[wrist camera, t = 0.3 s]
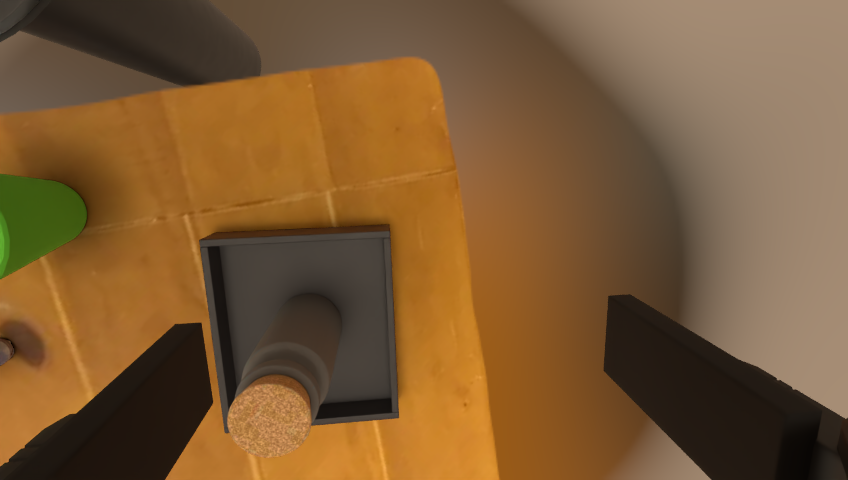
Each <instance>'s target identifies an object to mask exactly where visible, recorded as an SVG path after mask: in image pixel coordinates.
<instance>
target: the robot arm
mask: <svg viewBox="0 0 848 480" xmlns="http://www.w3.org/2000/svg"><path fill="white" fill-rule="evenodd" d="M604 371H605V372H606V373H607V375H608V376H609V377H610V378H611V379H613V381H614V382H616V384H617V385H619V387H620V388H621V389H622V390H623V391H624V392H625V393H626V394H627V395H628V396H629V397H630V398H631V399H632V400H633V401H634V402H635V403H636V404H637V405H638V406H639V407H640V408H641V409H642V410H643V411H644V412H645V413H646V414H647V415H648V416H649V417H650V418H651V419H652V420H653V421H654V422H655V423H656V424H657V425H658V426H659V427H660V428H661V429H662V430H663V431H664V432H665V433H666V434H667V435H668V436H669V437H670V438H671V439H672V440H673V441H674V442H675V443H676V444H677V445H678V446H679V447H680V448H681V449H682V450H683V451H684V452H685V453H686V454H687V455H688V456H689V457H690V458H691V459H692V460H693V461H694V462H695V463H696V464H697V465H698V466H699V467H700V468H701V469H702V471H704V472H705V474H706V475H707V476H708V477H709V478H710V479H711V480H848V418H847V419H845V418H843V417H841V416H840V415H838V414H836V413H835V412H833V411H831V410H830V409H828V408H826V407H825V406H823V405H821V404H820V403H818V402H816V401H814V400H812V399H811V398H809V397H808V396H806V395H804V394H803V393H801V392H799V391H798V390H793V389H792V387H791V386H789V385H787V384H786V383H784V382H782V381H781V380H777V378H775V377H774V376H772V375H770V374H769V373H767V372H765V371H764V370H762V369H760V368H759V367H756V366H754V365H751V364H748V363H746V362H743V361H741V360H738V359H736V358H735V357H733V356H731V355H730V354H728V353H727V352H725V351H723V350H722V349H720V348H718V347H716V346H715V345H713V344H712V343H710V342H708V341H706V340H705V339H703V338H702V337H700V336H698V335H697V334H695V333H693V332H692V331H690V330H688V329H687V328H685V327H683V326H682V325H680V324H678V323H677V322H675V321H673V320H672V319H670V318H668V317H667V316H665V315H663V314H662V313H660V312H658V311H657V310H655V309H654V308H652V307H650V306H649V305H647V304H645V303H644V302H642V301H640V300H639V299H637V298H635V297H634V296H632V295H615V296H608V311H607V327H606V342H605V357H604ZM212 404H213V398H212V391H211V384H210V377H209V371H208V364H207V357H206V351H205V344H204V337H203V331H202V324H201V323H187V324H175V325H174V326H173V327H172V328H171V329H169V330H168V331H167V332H166V333H165V334H164V335H163V336H162V337H161V338H160V339H158V340H157V341H156V342H155V343H154V344H153V345H152V346H151V347H150V348H148V349H147V350H146V351H145V352H144V353H143V354H142V355H141V356H140V357H139V358H137V359H136V360H135V361H134V362H133V363H132V364H131V365H130V366H129V367H127V368H126V369H125V370H124V371H123V372H122V373H121V374H120V375H119V376H117V377H116V378H115V379H114V380H113V381H112V382H111V383H110V384H109V385H108V386H106V387H105V388H104V389H103V390H102V391H101V392H100V393H99V394H98V395H96V396H95V397H94V398H93V399H92V400H91V401H90V402H89V403H88V404H87V405H85V406H84V407H83V408H82V409H81V410H80V411H79V412H78V413H77V414H69V415H68V416H66V417H64V418H62V419H61V420H59V421H57V422H55V423H54V424H52V425H50V426H48V427H47V428H45V429H44V430H42V431H41V432H40V433H39V434H38V435H37V436H35V437H34V438H33V439H32V440H31V441H30V442H28V443H27V444H26V445H25V448H23V449H20V450H19V451H18V452H17V453H16V454H15V455H13V456H12V457H11V458H10V459H9V462H8V463H4V464H3V465H2V466H1V467H0V480H165V479H166V477H167V476H168V474H169V472H170V471H171V469H172V468H173V466H174V464H175V463H176V461H177V460H178V458H179V456H180V455H181V453H182V452H183V450H184V449H185V447H186V445H187V444H188V442H189V441H190V439H191V437H192V436H193V434H194V433H195V431H196V429H197V428H198V426H199V425H200V423H201V421H202V420H203V418H204V417H205V415H206V413H207V412H208V410H209V409H210V407H211V406H212Z"/></svg>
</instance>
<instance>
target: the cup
mask: <svg viewBox="0 0 848 480" xmlns="http://www.w3.org/2000/svg"><path fill="white" fill-rule="evenodd" d="M86 221H87V211H86V206H85V204H84V202H83V200H82V198H81V197H80V196H79V195H78V193H76V192H75V191H74V190H73V189H71V188H70V187H68V186H66V185H64V184H63V183H60V182H56V181H52V180H44V179H37V178H29V177H21V176H14V175H6V174H0V279H2V278H4V277H6V276H7V275H9V274H11V273H13V272H15V271H17V270H18V269H20V268H22V267H24V266H26V265H27V264H29V263H31V262H33V261H35V260H36V259H38V258H40V257H42V256H44V255H46V254H47V253H49V252H51V251H53V250H55V249H56V248H58V247H60V246H62V245H64V244H66V243H67V242H69V241H71V240H73V239H74V238H75V237H77V236H78V235H79V234H80V232H81V231H82V230H83V228H84V226H85V223H86Z"/></svg>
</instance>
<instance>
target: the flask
mask: <svg viewBox="0 0 848 480" xmlns="http://www.w3.org/2000/svg"><path fill="white" fill-rule="evenodd" d="M12 349H13V346H12V345H11V341H9V340H5V339H0V365H2V364H4V363H5V362H7V361H8V360H9V359H10V358H12V357H13V354H14V349H13V352H12ZM11 353H12V355H11Z"/></svg>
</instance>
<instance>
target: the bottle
mask: <svg viewBox="0 0 848 480" xmlns="http://www.w3.org/2000/svg"><path fill="white" fill-rule="evenodd" d="M341 329H342V321H341V316H340V313H339V311H338V309H337V308H336V306H335V305H334V304H333V303H332V302H331V301H330V300H328V299H327V298H325V297H322V296H320V295H316V294H302V295H298V296H295V297H293V298H292V299H290V300H289V301H287V302H286V303H285V304H284V305H283V306H282V307H281V309H280V310H279V312H278V313H277V315H276V316H275V318H274V319H273V321H272V323H271V324H270V326H269V327H268V329H267V330H266V332H265V333H264V335H263V336H262V338H261V340H260V341H259V343H258V344H257V346H256V348H255V349H254V351H253V352H252V354H251V356H250V357H249V359H248V361H247V363H246V365H245V367H244V370H243V373H242V381H241V382H240V384H239V386H238V388H237V391H236V394H235V399H234V401H233V403H232V404H231V406H230V409H229V412H228V418H227V424H228V429H229V432H230V435H231V437H232V439H233V440H234V441H235V443H236V444H237V445H238V446H239V447H240V448H242V449H243V450H245V451H246V452H248V453H250V454H253V455H256V456H259V457H279V456H283V455H286V454H288V453H290V452H292V451H294V450H295V449H297V448H298V447H299V446H300V445H301V444H302V443H303V442H304V441H305V439H306V438H307V436H308V434H309V432H310V428H311V424H312V423H313V421H314V420H315V418H316V416H317V413H318V410H319V406H320V405H321V404H322V402H323V401H324V399H325V397H326V395H327V393H328V390H329V386H330V382H331V378H332V373H333V369H334V364H335V359H336V354H337V349H338V345H339V340H340V335H341Z"/></svg>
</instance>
